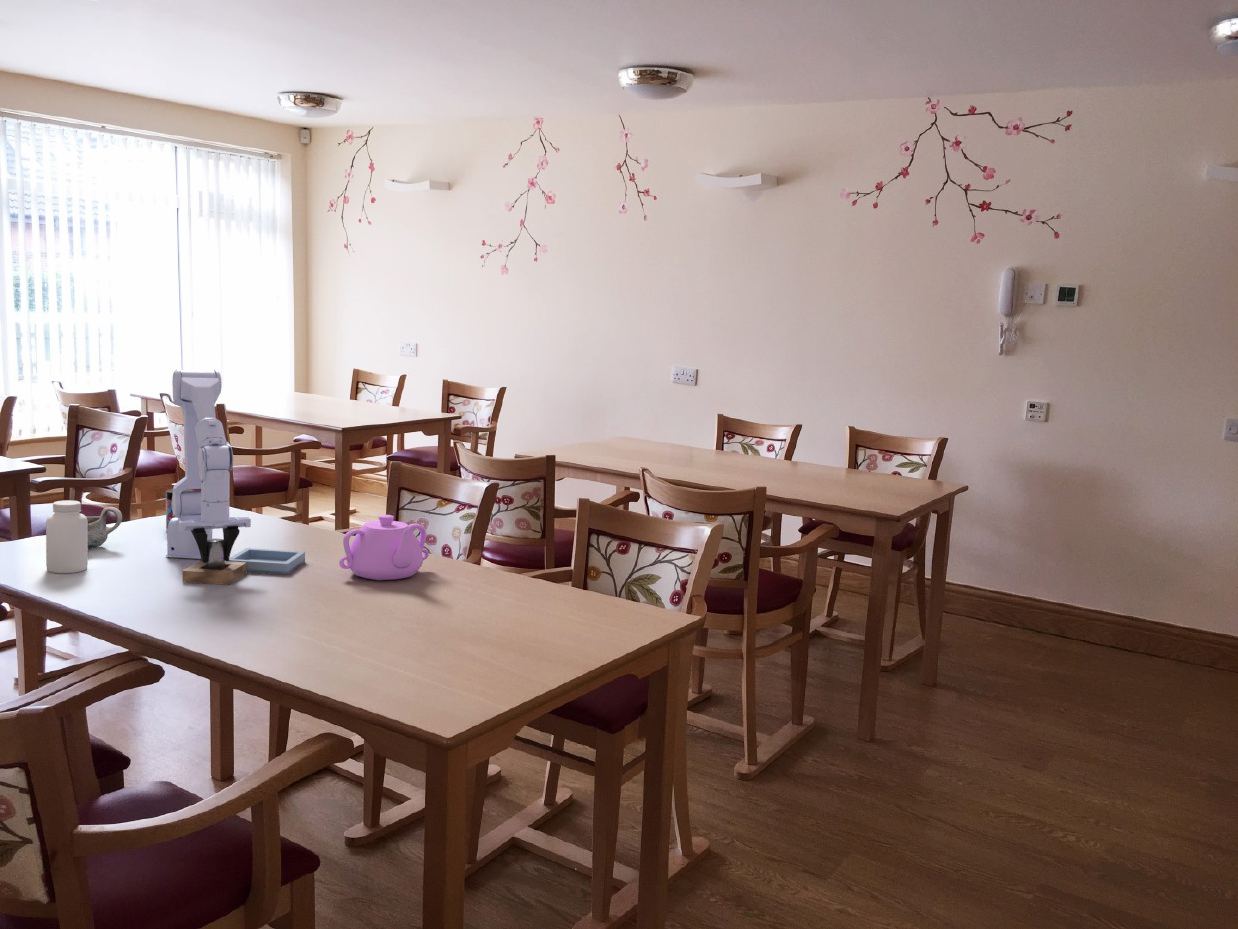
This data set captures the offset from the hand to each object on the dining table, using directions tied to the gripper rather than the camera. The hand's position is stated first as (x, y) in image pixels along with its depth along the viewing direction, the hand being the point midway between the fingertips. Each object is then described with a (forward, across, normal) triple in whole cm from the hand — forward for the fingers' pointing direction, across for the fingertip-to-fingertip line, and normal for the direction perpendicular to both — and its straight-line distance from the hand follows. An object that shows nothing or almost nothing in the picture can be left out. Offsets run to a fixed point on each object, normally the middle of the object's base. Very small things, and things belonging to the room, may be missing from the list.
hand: (215, 561), depth 220 cm
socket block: (+4, 0, 0) cm, 4 cm away
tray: (+4, +13, +6) cm, 14 cm away
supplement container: (+4, +2, +51) cm, 51 cm away
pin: (+3, 0, 0) cm, 3 cm away
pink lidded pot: (+4, +35, -12) cm, 38 cm away
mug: (+4, -19, +37) cm, 42 cm away
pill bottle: (+4, -27, +18) cm, 32 cm away
